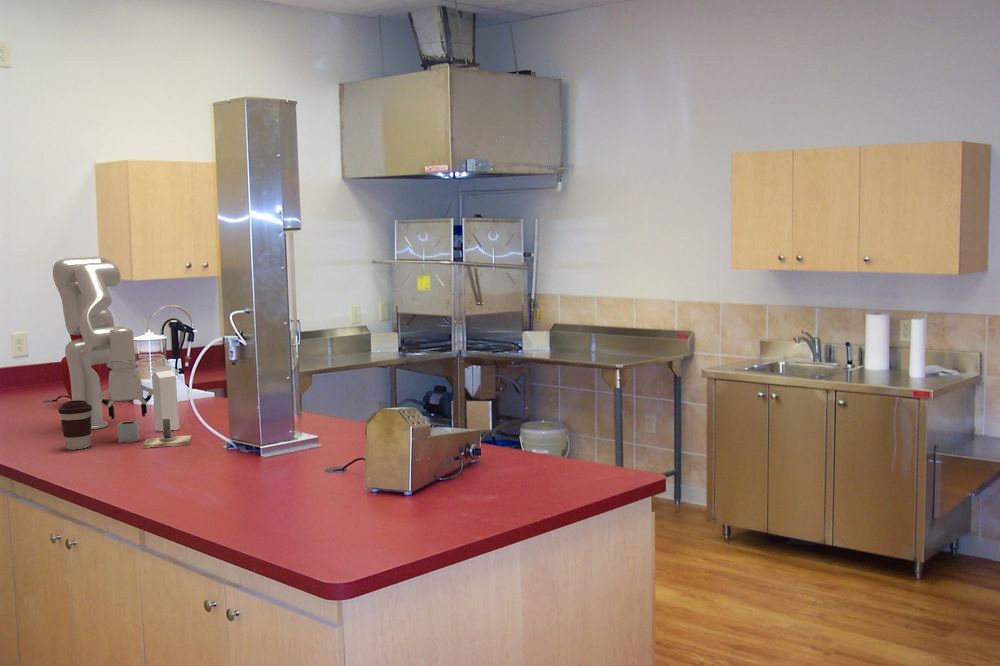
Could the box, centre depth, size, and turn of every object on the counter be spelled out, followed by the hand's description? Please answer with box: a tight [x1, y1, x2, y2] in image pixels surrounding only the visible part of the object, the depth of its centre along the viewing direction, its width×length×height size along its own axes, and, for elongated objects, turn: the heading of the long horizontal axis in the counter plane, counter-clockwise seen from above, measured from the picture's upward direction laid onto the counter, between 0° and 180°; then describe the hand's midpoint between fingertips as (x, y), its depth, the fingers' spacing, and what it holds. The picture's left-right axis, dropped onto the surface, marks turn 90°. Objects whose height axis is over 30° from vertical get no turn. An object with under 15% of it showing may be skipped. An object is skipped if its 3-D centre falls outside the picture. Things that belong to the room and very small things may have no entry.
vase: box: [60, 332, 102, 401], centre depth 410 cm, size 15×15×30 cm
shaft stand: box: [143, 419, 192, 449], centre depth 335 cm, size 14×10×8 cm
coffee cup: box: [58, 400, 92, 451], centre depth 333 cm, size 10×10×15 cm
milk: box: [151, 365, 180, 432], centre depth 357 cm, size 6×6×22 cm
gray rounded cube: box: [116, 420, 141, 443], centre depth 342 cm, size 6×6×6 cm
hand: (128, 417), depth 341 cm, fingers open, 9 cm apart
